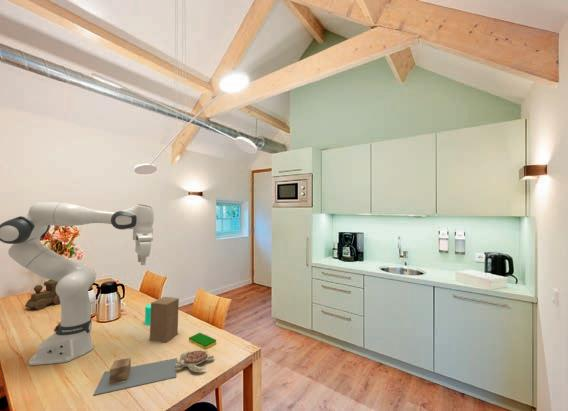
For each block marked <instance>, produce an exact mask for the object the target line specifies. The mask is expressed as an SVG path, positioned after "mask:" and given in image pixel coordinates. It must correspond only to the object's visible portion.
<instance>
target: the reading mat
mask: <svg viewBox="0 0 568 411" xmlns="http://www.w3.org/2000/svg"><path fill="white" fill-rule="evenodd" d="M177 362H178V357H176V358H169V359H164V360H160V361H155V362H149V363H144V364H139V365H134V366H131V368H130V375H129V378H128V381H126V382H121V383H116V384H112V385H109V381H110V370H109V371H108V370H107V371H104V372H103V374H102V376H101V378H100V380H99V382H98V383H97V384H98V385H97V387H96V388H95V390H94V392H93V397H95V396H99V395H103V394H108V393H112V392H118V391H120V390H125V389H126V390H127V389H130V388H134V387H139V386H144V385H148V384H154V383H159V382H163V381H167V380H171V379H176V378H177V372H178V371H177V368H175V365H176V363H177Z"/></svg>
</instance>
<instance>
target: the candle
mask: <svg viewBox="0 0 568 411" xmlns="http://www.w3.org/2000/svg"><path fill="white" fill-rule="evenodd" d="M144 308H145V311H144V312H145V313H144V325H146V326H150V320H151V304H147V305H146V306H145V307H144Z"/></svg>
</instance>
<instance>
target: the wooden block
mask: <svg viewBox="0 0 568 411" xmlns="http://www.w3.org/2000/svg"><path fill="white" fill-rule="evenodd" d="M179 303H180V298H179V297H178V298H177V297H170V296H169V297H168V296H162V297H161V298H158V299H155V300H154V301H152V302H150V305H151V320H150V325H149V327H150V328H149V341H150V342H151V341H152V342H158V343H165V344H166V343H168V342H169V341H170V340H172V338H174V337H176V336H177V335H178V333H179V331H178V329H179V328H178V327H179V307H180V306H179Z"/></svg>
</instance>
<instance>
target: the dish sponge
mask: <svg viewBox="0 0 568 411" xmlns="http://www.w3.org/2000/svg"><path fill="white" fill-rule="evenodd" d="M188 342H189V343H191V344H193V345H194V346H196V347H199V348H200V349H203V350H204V351H207V350H208V349H209V348H211V347H214V346H215V345H217V339H215V338H214V337H211V336H209V335H206V334H204V333H202V332H198V333H196V334H193V335H192V336H189V337H188Z"/></svg>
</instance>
